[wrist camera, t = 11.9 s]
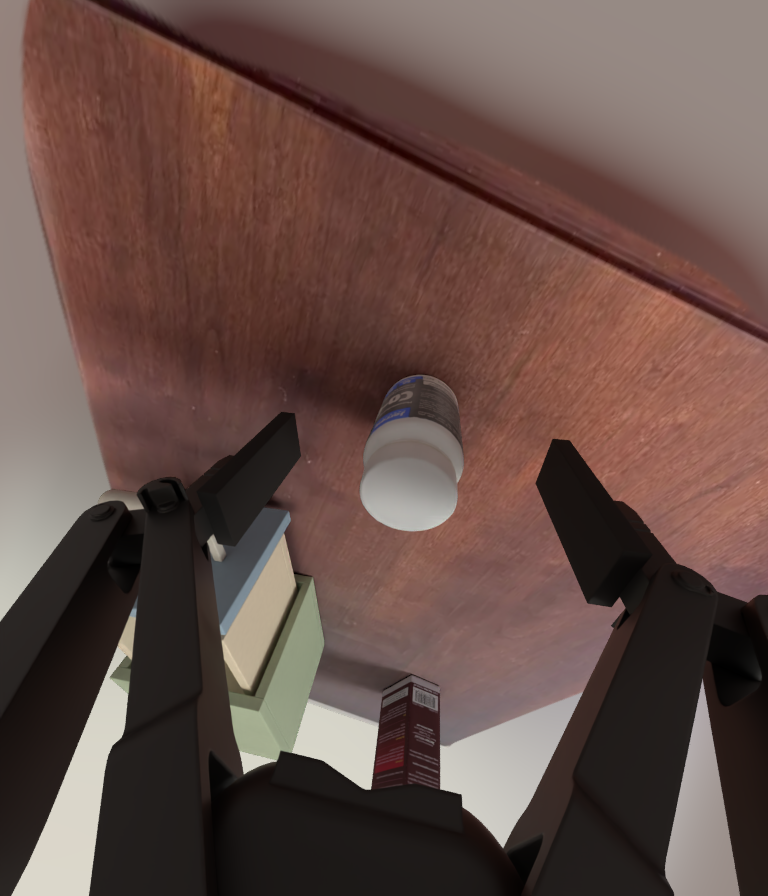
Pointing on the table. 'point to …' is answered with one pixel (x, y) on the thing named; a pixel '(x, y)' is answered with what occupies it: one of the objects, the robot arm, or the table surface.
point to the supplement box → (408, 735)
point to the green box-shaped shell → (274, 682)
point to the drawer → (242, 594)
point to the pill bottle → (414, 456)
